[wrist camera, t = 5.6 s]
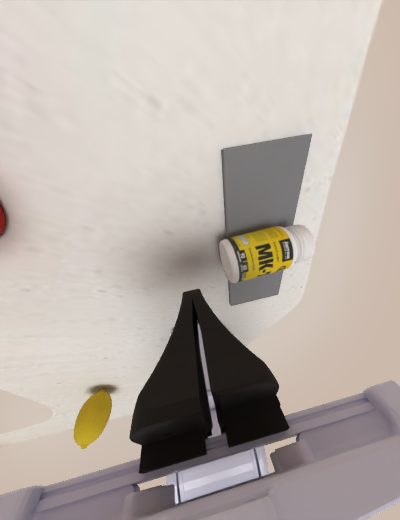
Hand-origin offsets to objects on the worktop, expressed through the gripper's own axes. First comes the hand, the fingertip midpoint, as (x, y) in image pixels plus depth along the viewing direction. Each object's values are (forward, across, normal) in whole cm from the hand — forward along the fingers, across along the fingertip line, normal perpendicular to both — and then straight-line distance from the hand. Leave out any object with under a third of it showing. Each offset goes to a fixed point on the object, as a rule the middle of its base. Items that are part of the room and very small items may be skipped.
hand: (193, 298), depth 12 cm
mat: (+7, -9, 0) cm, 11 cm away
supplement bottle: (+4, -4, 0) cm, 5 cm away
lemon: (+7, +24, +28) cm, 38 cm away
